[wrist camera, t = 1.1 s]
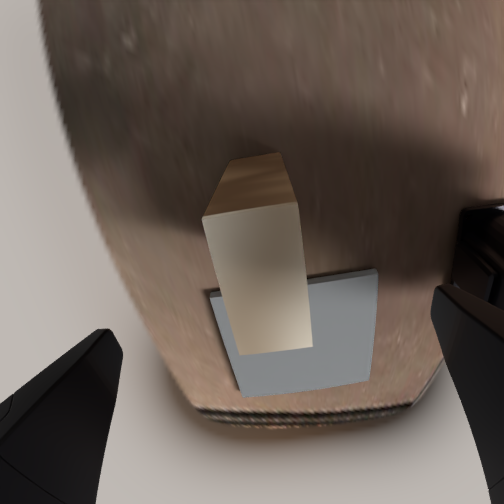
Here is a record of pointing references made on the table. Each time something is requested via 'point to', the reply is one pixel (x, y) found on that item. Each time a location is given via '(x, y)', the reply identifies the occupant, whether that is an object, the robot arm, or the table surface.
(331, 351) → the mat
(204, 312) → the table surface
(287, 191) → the slab
